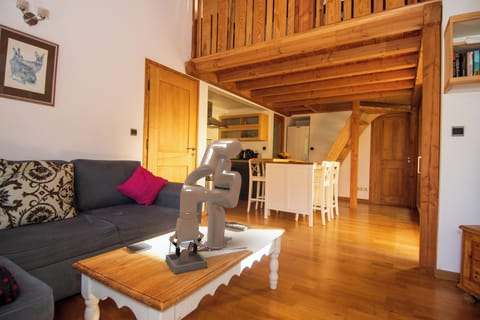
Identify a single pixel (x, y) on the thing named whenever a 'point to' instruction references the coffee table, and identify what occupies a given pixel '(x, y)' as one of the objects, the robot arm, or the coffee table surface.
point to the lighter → (185, 253)
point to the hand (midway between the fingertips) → (186, 254)
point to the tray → (186, 263)
